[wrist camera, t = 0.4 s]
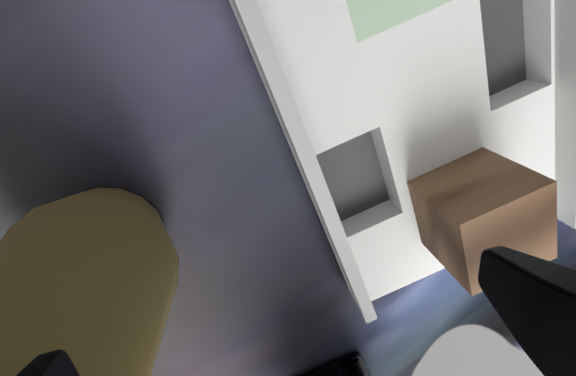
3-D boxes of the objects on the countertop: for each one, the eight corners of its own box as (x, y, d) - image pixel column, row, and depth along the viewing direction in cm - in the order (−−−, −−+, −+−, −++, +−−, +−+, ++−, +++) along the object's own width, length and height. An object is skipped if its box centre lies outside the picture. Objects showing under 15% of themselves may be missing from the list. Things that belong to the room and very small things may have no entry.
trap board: (542, 200, 26) (608, 236, 22) (348, 287, 26) (376, 342, 22) (531, -179, 16) (653, -256, 12) (213, -37, 16) (214, -60, 12)
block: (490, 212, 23) (557, 257, 19) (422, 243, 23) (471, 296, 19) (483, 147, 21) (556, 181, 16) (406, 181, 21) (459, 225, 16)
